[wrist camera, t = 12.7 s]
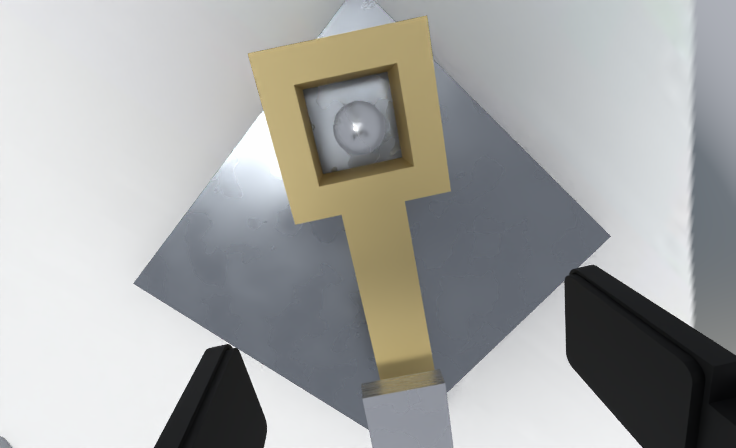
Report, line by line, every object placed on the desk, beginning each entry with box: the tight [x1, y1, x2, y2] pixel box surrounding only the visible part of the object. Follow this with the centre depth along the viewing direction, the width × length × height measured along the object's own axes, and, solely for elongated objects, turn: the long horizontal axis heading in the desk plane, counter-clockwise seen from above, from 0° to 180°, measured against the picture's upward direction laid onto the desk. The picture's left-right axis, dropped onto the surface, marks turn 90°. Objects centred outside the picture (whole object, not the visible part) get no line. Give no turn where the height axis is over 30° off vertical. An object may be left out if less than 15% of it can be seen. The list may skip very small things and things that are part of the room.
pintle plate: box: [133, 0, 611, 448], centre depth 19 cm, size 20×20×7 cm
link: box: [248, 16, 451, 380], centre depth 19 cm, size 18×7×4 cm, turn 12°
